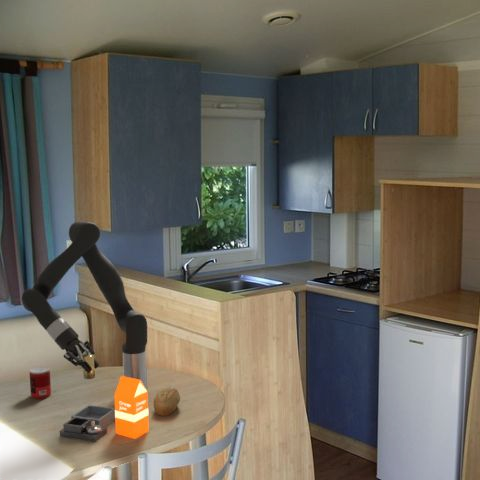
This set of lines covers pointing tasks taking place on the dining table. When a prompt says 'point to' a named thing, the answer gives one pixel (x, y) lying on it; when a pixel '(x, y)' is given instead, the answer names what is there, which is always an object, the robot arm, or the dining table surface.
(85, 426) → the crank housing
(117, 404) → the orange juice
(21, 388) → the dining table surface
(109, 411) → the tray
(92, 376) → the cylinder
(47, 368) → the canned food
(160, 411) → the bread roll
